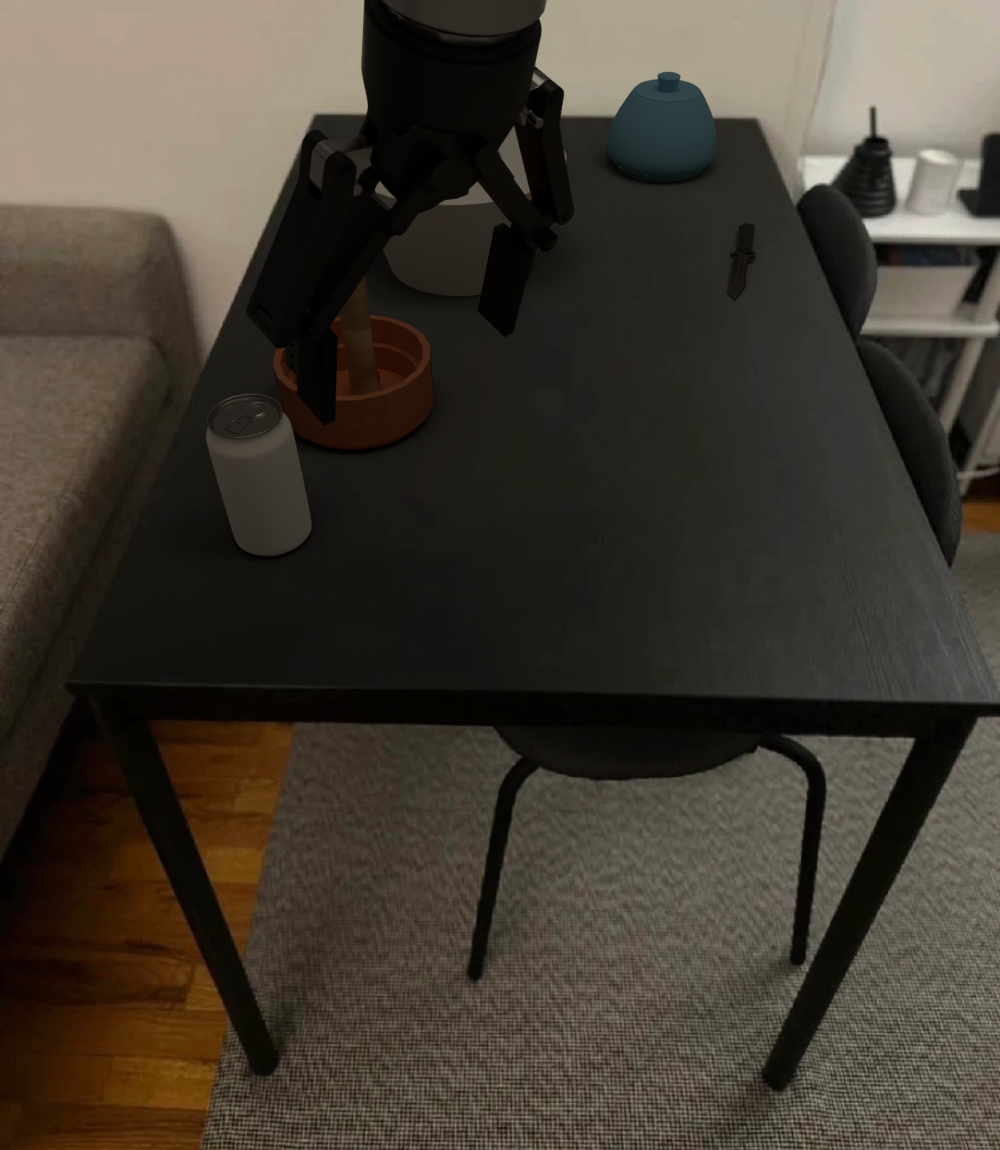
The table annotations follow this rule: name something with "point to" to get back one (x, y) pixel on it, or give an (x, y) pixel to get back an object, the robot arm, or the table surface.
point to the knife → (741, 259)
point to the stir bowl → (373, 413)
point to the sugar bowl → (663, 131)
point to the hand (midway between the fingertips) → (410, 363)
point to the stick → (359, 342)
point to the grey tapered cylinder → (452, 236)
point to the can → (259, 474)
